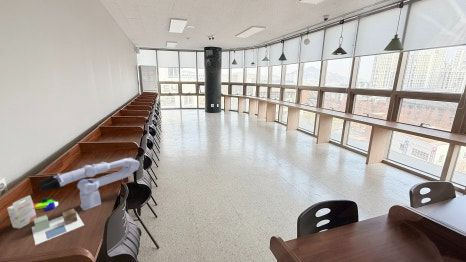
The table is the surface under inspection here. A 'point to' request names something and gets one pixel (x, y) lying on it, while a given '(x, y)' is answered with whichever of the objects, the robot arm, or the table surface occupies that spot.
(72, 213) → the walnut block
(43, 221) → the sage block
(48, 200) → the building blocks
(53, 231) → the blueprint board
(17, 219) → the ink cartridge box
